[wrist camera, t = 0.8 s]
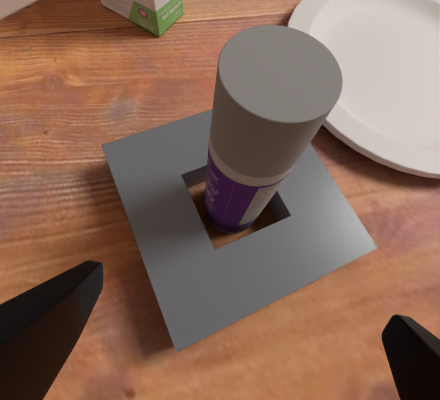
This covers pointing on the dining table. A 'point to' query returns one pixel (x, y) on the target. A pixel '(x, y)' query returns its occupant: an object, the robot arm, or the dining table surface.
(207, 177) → the container
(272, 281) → the socket block
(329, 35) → the plate
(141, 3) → the ink box
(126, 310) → the dining table surface
